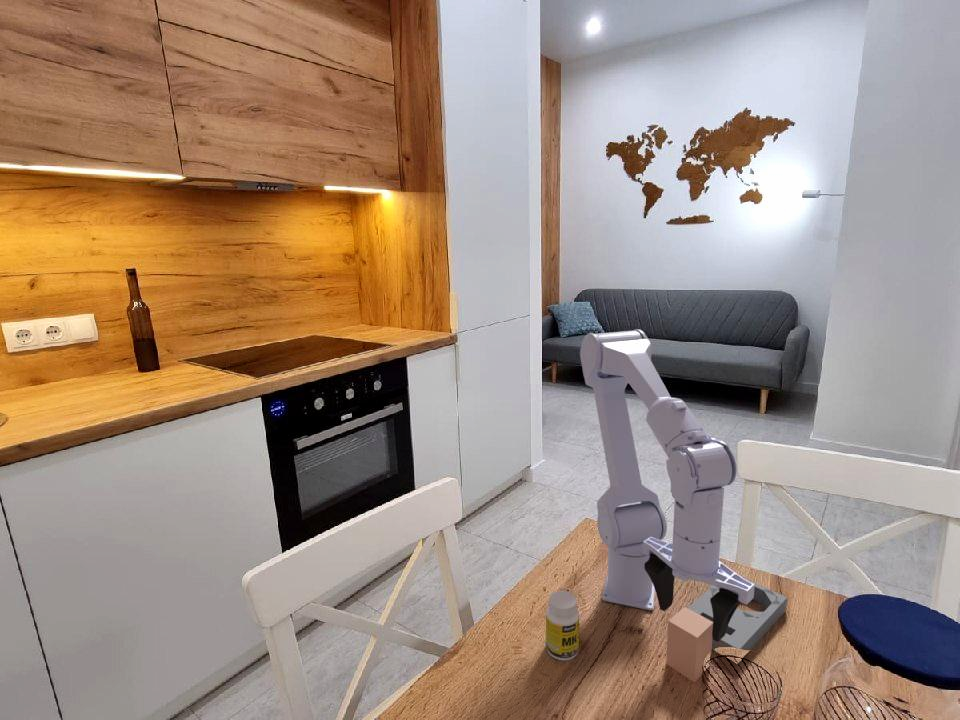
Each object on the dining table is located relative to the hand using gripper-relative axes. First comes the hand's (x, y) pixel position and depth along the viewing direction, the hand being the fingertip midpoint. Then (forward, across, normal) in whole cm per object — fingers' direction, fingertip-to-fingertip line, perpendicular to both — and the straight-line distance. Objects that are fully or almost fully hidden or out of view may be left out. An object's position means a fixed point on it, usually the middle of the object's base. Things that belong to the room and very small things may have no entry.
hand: (691, 621), depth 71 cm
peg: (+7, 0, 0) cm, 7 cm away
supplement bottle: (+7, -14, -11) cm, 19 cm away
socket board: (+7, 0, +13) cm, 15 cm away
